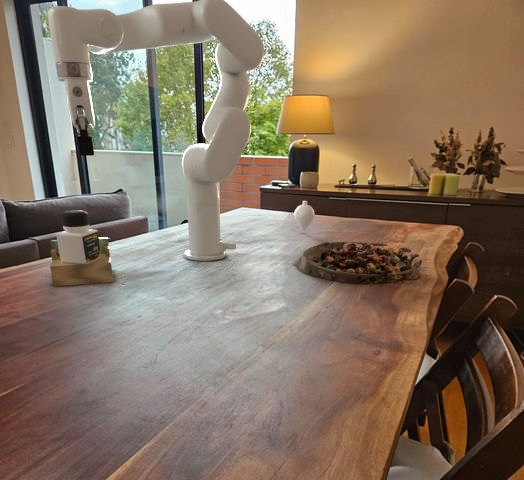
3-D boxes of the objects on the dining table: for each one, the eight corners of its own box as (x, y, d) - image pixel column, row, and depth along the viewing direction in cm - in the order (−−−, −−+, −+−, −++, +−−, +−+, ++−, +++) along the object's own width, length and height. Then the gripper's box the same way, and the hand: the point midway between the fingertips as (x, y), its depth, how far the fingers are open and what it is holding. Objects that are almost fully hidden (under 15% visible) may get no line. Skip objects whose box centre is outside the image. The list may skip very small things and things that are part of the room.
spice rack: (111, 270, 125) (107, 237, 121) (113, 281, 116) (108, 246, 112) (56, 274, 121) (50, 240, 117) (53, 286, 111) (46, 249, 108)
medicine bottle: (86, 264, 111) (79, 214, 106) (60, 262, 112) (51, 212, 107) (101, 257, 117) (95, 209, 112) (76, 256, 119) (69, 208, 114)
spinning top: (314, 235, 173) (316, 202, 167) (293, 235, 173) (295, 202, 168) (312, 231, 179) (314, 199, 174) (293, 231, 180) (294, 199, 174)
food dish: (439, 272, 131) (444, 245, 128) (380, 301, 110) (385, 269, 106) (338, 248, 152) (341, 224, 149) (272, 268, 131) (273, 241, 127)
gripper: (92, 70, 99) (104, 156, 106) (91, 78, 113) (101, 152, 121) (55, 69, 97) (70, 156, 104) (58, 77, 111) (71, 153, 119)
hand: (87, 154), depth 112 cm, fingers open, 9 cm apart
